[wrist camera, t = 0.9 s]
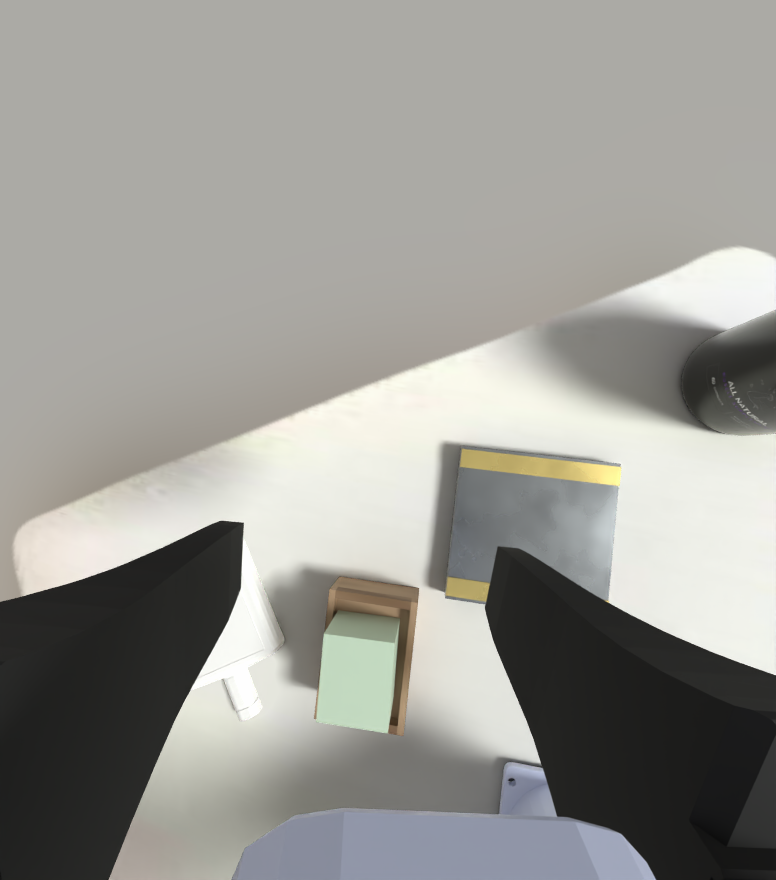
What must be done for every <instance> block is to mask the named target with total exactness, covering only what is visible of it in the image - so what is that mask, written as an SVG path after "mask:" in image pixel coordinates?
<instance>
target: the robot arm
mask: <svg viewBox="0 0 776 880" xmlns="http://www.w3.org/2000/svg"><path fill="white" fill-rule="evenodd" d="M243 528H244V523H240V522H229V521H219V522H216V523H214V524H211V525H209V526H207V527H205V528H203V529H201V530H198V531H196V532H194V533H192V534H190V535H188V536H186V537H184V538H182V539H180V540H178V541H176V542H174V543H171V544H169V545H167V546H165V547H163V548H161V549H158V550H156V551H154V552H152V553H149V554H147V555H145V556H142V557H140V558H138V559H135V560H133V561H131V562H128V563H126V564H124V565H121V566H118V567H116V568H113V569H111V570H108V571H105V572H102V573H99V574H96V575H94V576H91V577H88V578H85V579H82V580H79V581H76V582H72V583H69V584H66V585H62V586H59V587H55V588H51V589H48V590H44V591H41V592H37V593H33V594H30V595H26V596H22V597H19V598H15V599H11V600H6V601H2V602H0V880H109V877H110V875H111V872H112V870H113V867H114V865H115V862H116V860H117V857H118V854H119V852H120V849H121V847H122V844H123V842H124V839H125V837H126V834H127V832H128V829H129V827H130V824H131V822H132V819H133V817H134V815H135V812H136V810H137V807H138V805H139V803H140V800H141V798H142V795H143V793H144V791H145V788H146V786H147V783H148V781H149V779H150V776H151V774H152V771H153V769H154V767H155V764H156V762H157V760H158V757H159V755H160V753H161V751H162V748H163V746H164V744H165V741H166V739H167V737H168V735H169V732H170V730H171V728H172V725H173V723H174V721H175V719H176V717H177V715H178V713H179V711H180V709H181V707H182V705H183V703H184V701H185V699H186V697H187V695H188V694H189V692H190V690H191V688H192V686H193V685H194V683H195V681H196V679H197V677H198V676H199V674H200V672H201V670H202V668H203V666H204V665H205V663H206V661H207V659H208V657H209V656H210V654H211V652H212V650H213V648H214V647H215V645H216V643H217V641H218V639H219V637H220V636H221V634H222V632H223V630H224V628H225V626H226V624H227V623H228V621H229V618H230V616H231V613H232V611H233V608H234V606H235V603H236V600H237V598H238V595H239V592H240V590H241V576H242V552H243ZM485 611H486V615H487V619H488V623H489V627H490V630H491V634H492V637H493V641H494V644H495V646H496V649H497V651H498V654H499V656H500V658H501V661H502V663H503V666H504V668H505V671H506V673H507V675H508V678H509V680H510V682H511V685H512V687H513V690H514V692H515V694H516V697H517V699H518V701H519V704H520V706H521V709H522V711H523V713H524V716H525V718H526V720H527V723H528V726H529V728H530V731H531V734H532V736H533V739H534V742H535V745H536V748H537V752H538V755H539V758H540V761H541V764H542V768H540V767H534V766H529V765H524V764H519V763H514V762H509V763H506V765H505V766H504V771H503V780H502V790H501V800H500V810H499V814H480V813H457V812H433V811H410V810H387V809H363V808H338V809H332V810H325V811H319V812H312V813H306V814H299V815H294V816H293V817H291V818H290V819H288V820H287V821H285V822H283V823H282V824H280V825H279V826H277V827H276V828H274V829H273V830H271V831H270V832H268V833H267V834H265V835H264V836H262V837H261V838H259V839H257V840H256V841H255V842H253V843H252V844H251V845H249V846H248V847H246V848H245V850H244V852H243V854H242V856H241V859H240V861H239V863H238V866H237V868H236V870H235V873H234V875H233V877H232V880H776V675H773V674H770V673H767V672H764V671H762V670H759V669H756V668H753V667H750V666H747V665H745V664H742V663H739V662H736V661H734V660H731V659H728V658H726V657H723V656H721V655H718V654H715V653H713V652H710V651H708V650H706V649H703V648H701V647H698V646H696V645H694V644H691V643H689V642H687V641H684V640H682V639H680V638H677V637H675V636H673V635H671V634H668V633H666V632H664V631H662V630H660V629H658V628H656V627H654V626H652V625H650V624H648V623H646V622H644V621H642V620H640V619H638V618H636V617H634V616H632V615H630V614H628V613H626V612H624V611H622V610H620V609H619V608H617V607H615V606H613V605H611V604H610V603H608V602H606V601H605V600H603V599H601V598H599V597H598V596H596V595H594V594H593V593H591V592H589V591H588V590H586V589H584V588H583V587H581V586H580V585H578V584H576V583H575V582H573V581H572V580H570V579H568V578H567V577H565V576H564V575H562V574H561V573H559V572H558V571H556V570H554V569H553V568H551V567H550V566H548V565H547V564H545V563H544V562H542V561H540V560H539V559H537V558H536V557H534V556H532V555H531V554H529V553H527V552H525V551H523V550H521V549H519V548H511V547H501V546H498V547H497V552H496V556H495V561H494V566H493V571H492V576H491V581H490V586H489V590H488V595H487V600H486V605H485ZM510 778H513V779H514V781H512V782H510V781H508V779H510Z"/></svg>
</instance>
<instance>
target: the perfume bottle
mask: <svg viewBox="0 0 776 880" xmlns="http://www.w3.org/2000/svg"><path fill="white" fill-rule="evenodd" d="M283 643H284V636H283V634H282V631H281V629H280V626H279V624H278V621H277V619H276V616H275V614H274V611H273V609H272V607H271V604H270V602H269V599H268V597H267V594H266V592H265V589H264V587H263V584H262V582H261V579H260V577H259V575H258V572H257V570H256V567H255V565H254V562H253V560H252V557H251V555H250V552H249V550H248V547H247V545H246V543H245V540H244V538H243V552H242V576H241V590H240V592H239V595H238V598H237V600H236V603H235V606H234V608H233V611H232V613H231V616H230V618H229V621H228V623H227V624H226V626H225V628H224V630H223V632H222V634H221V636H220V637H219V639H218V641H217V643H216V645H215V647H214V648H213V650H212V652H211V654H210V656H209V657H208V659H207V661H206V663H205V665H204V666H203V668H202V670H201V672H200V674H199V676H198V677H197V679H196V681H195V683H194V685H193V686H192V688H191V690H193V689H196V688H199V687H201V686H204V685H207V684H209V683H212V682H215V681H218V680H220V679H223V680H224V682H225V685H226V688H227V690H228V693H229V695H230V698H231V700H232V703H233V706H234V708H235V710H236V713H237V716H238V718H239V721H245V720H247V719H250V718H252V717H254V716H255V715H256V714H258V713H259V712H260V710H261V709H262V704H261V701H260V699H259V698H258V694H257V691H256V689H255V686H254V684H253V681H252V679H251V676H250V674H249V671H248V669H247V667H249V666H251V665H253V664H255V663H257V662H259V661H261V660H263V659H265V658H267V657H269V656H271V655H273V654H274V653H275V652H276V651H277V650H278V649H279V648H280V647H281V646H282V645H283Z"/></svg>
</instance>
